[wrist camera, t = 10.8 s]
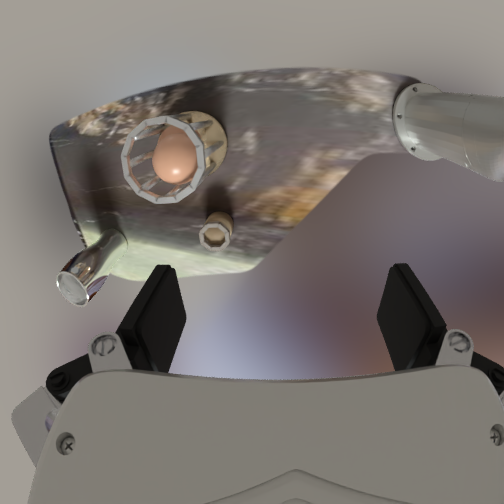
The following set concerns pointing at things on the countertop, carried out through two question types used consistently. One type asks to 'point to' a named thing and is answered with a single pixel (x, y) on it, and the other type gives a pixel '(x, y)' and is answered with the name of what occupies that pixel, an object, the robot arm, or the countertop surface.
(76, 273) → the beer glass
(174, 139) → the terracotta ball
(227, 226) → the stand
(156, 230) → the countertop surface
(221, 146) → the cage tube
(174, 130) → the ball
